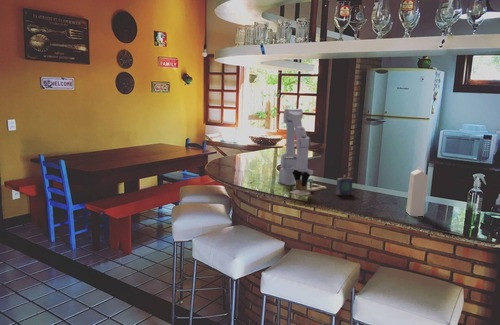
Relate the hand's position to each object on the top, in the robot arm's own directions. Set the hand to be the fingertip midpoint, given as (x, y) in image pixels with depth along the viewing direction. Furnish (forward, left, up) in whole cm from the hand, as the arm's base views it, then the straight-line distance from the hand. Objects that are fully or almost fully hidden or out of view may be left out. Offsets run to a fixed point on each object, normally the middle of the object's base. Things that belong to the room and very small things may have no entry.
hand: (300, 185), depth 210 cm
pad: (0, 0, -4) cm, 4 cm away
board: (-5, +13, -4) cm, 15 cm away
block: (0, 0, -2) cm, 2 cm away
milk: (+55, +18, -5) cm, 58 cm away
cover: (-5, +8, -3) cm, 10 cm away
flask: (+14, +19, -5) cm, 24 cm away
